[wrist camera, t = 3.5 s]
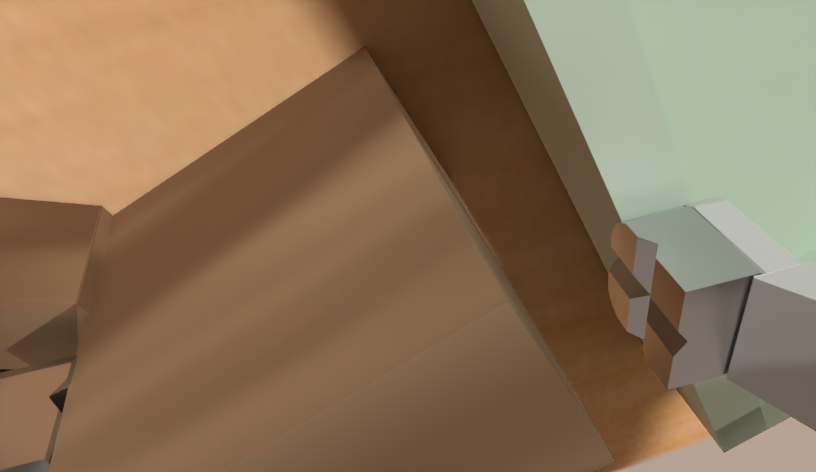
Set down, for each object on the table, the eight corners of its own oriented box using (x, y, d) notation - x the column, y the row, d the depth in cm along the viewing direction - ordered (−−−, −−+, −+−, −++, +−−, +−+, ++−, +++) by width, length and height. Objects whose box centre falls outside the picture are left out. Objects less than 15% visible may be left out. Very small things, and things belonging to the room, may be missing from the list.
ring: (-456, 391, 10) (-1084, 970, 5) (253, -127, 8) (308, 11, 3) (15, 567, 15) (-77, 937, 10) (509, 271, 13) (674, 547, 8)
